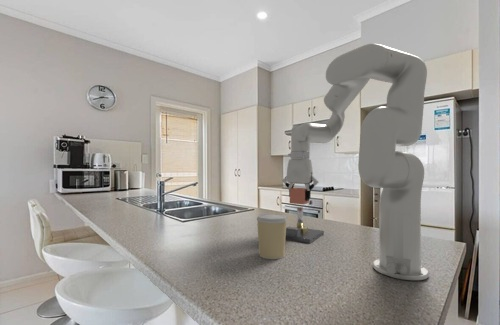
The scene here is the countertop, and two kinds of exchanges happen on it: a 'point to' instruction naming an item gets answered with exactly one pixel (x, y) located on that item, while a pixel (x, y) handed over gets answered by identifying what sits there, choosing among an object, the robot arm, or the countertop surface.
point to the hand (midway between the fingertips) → (299, 199)
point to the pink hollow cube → (298, 196)
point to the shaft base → (306, 236)
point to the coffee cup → (271, 235)
